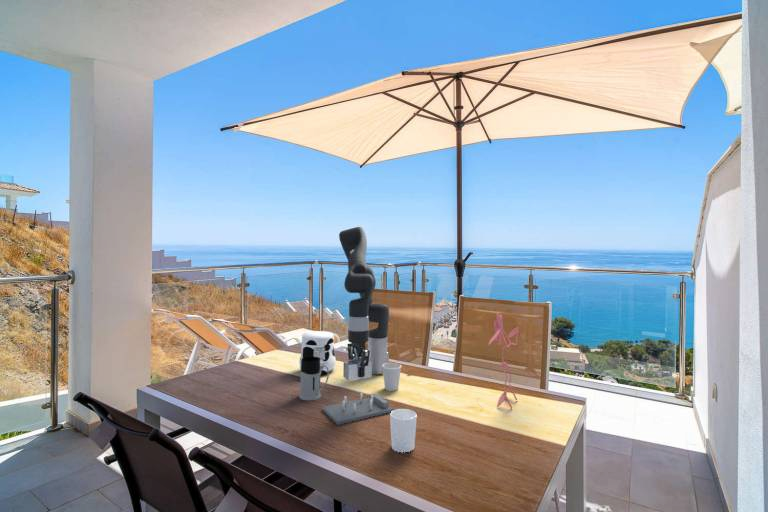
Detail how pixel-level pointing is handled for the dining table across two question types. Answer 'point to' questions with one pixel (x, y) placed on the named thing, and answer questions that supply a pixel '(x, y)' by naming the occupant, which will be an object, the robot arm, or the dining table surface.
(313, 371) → the white and black mug
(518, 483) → the dining table surface
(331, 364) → the milk container
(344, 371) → the block
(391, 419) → the white cup
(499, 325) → the figurine
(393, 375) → the dixie cup
